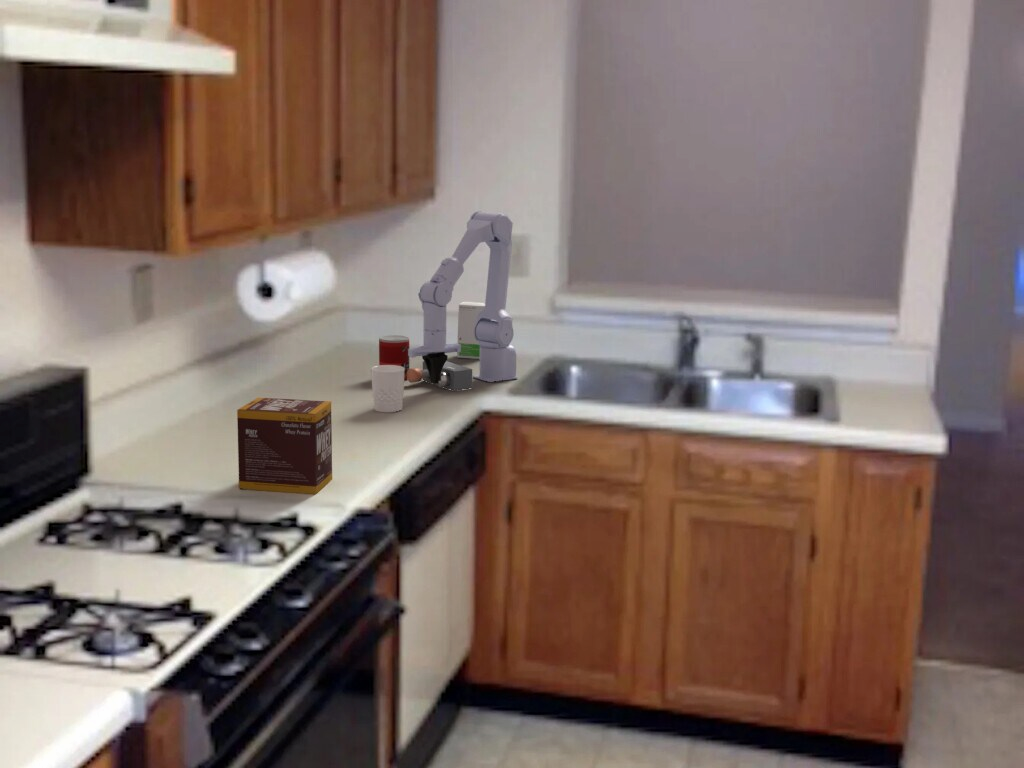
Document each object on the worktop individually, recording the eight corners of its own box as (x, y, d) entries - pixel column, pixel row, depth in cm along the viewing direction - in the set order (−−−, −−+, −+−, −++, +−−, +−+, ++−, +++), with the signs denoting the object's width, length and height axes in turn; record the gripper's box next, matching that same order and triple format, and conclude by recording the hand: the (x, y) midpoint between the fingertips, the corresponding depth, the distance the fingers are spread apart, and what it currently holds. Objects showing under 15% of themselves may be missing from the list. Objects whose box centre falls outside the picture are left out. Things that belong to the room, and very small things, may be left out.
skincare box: (456, 358, 364) (456, 304, 361) (461, 353, 371) (461, 301, 367) (485, 359, 363) (485, 305, 360) (489, 355, 369) (490, 302, 366)
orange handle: (431, 378, 333) (431, 364, 332) (438, 380, 330) (438, 367, 329) (406, 381, 329) (406, 367, 328) (413, 383, 326) (413, 370, 325)
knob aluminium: (459, 382, 329) (459, 368, 328) (466, 384, 326) (467, 370, 325) (434, 385, 324) (434, 371, 324) (442, 388, 322) (442, 374, 321)
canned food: (408, 382, 332) (407, 340, 330) (377, 381, 332) (377, 340, 330) (410, 375, 340) (410, 335, 337) (381, 375, 340) (380, 334, 338)
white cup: (411, 409, 302) (411, 368, 300) (386, 415, 297) (386, 373, 295) (389, 404, 308) (389, 363, 306) (364, 409, 302) (364, 368, 300)
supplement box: (317, 495, 236) (315, 413, 232) (238, 489, 238) (235, 408, 235) (334, 479, 246) (332, 400, 242) (258, 474, 248) (256, 396, 245)
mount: (440, 378, 337) (440, 358, 336) (472, 389, 325) (472, 368, 324) (422, 380, 334) (422, 360, 332) (454, 391, 322) (454, 370, 321)
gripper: (450, 324, 326) (449, 376, 329) (401, 329, 318) (401, 382, 321) (465, 328, 321) (465, 381, 324) (416, 333, 313) (416, 387, 315)
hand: (434, 382), depth 322 cm, fingers closed
